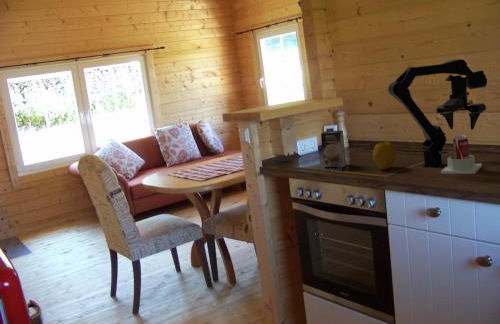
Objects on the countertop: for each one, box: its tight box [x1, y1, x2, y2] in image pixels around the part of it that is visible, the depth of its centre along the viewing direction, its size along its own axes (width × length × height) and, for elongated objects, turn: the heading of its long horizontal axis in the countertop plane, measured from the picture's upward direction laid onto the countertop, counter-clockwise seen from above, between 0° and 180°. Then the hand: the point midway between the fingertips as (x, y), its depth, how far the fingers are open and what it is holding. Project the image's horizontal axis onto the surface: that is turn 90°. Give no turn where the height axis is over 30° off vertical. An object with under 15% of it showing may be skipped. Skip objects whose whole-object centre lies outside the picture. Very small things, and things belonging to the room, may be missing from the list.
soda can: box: [452, 135, 470, 159], centre depth 197 cm, size 5×5×12 cm
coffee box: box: [320, 130, 347, 168], centre depth 237 cm, size 9×6×16 cm
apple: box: [372, 141, 397, 170], centre depth 218 cm, size 10×10×12 cm
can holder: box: [440, 154, 483, 175], centre depth 199 cm, size 12×12×5 cm
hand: (461, 129), depth 211 cm, fingers open, 9 cm apart
